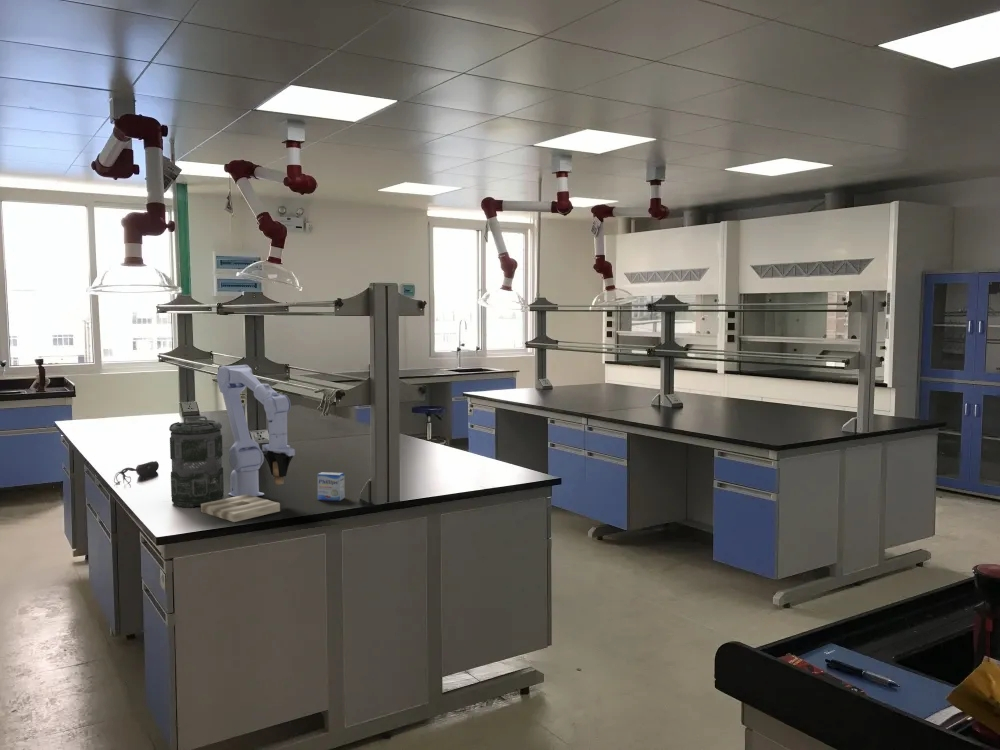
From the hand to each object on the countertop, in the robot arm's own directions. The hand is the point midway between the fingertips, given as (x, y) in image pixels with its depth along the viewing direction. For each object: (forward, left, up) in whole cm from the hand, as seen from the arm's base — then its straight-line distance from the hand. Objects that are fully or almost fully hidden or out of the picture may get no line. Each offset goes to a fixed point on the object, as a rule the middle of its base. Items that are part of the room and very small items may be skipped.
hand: (278, 475), depth 248 cm
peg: (0, 0, -3) cm, 3 cm away
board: (-2, -13, -9) cm, 16 cm away
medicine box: (+7, +15, -10) cm, 19 cm away
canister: (-23, -15, -10) cm, 29 cm away
